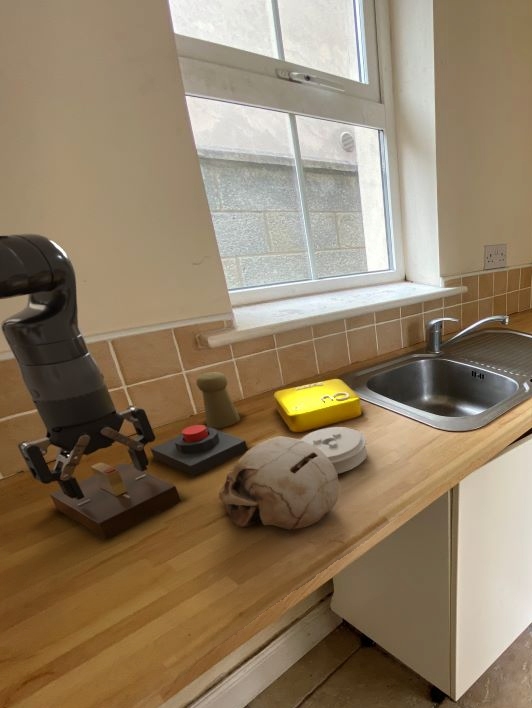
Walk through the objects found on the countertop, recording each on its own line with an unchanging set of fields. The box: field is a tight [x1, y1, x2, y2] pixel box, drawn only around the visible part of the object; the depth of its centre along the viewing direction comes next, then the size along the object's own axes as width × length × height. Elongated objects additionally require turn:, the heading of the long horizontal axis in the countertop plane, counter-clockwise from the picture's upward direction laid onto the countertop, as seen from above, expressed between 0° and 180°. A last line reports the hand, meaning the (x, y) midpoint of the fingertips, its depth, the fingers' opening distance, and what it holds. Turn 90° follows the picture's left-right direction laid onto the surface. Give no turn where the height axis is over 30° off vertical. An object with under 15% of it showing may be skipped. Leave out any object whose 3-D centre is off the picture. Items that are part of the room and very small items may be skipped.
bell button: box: [181, 424, 208, 442], centre depth 83 cm, size 4×4×2 cm
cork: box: [195, 371, 241, 429], centre depth 94 cm, size 6×6×11 cm
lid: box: [300, 426, 368, 475], centre depth 84 cm, size 13×13×5 cm
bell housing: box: [150, 425, 249, 477], centre depth 84 cm, size 12×10×4 cm
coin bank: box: [218, 435, 340, 531], centre depth 69 cm, size 16×17×13 cm
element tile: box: [273, 378, 362, 433], centre depth 101 cm, size 15×15×5 cm
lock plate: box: [49, 462, 181, 540], centre depth 71 cm, size 14×10×3 cm
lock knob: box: [90, 461, 127, 496], centre depth 69 cm, size 5×1×4 cm, turn 65°
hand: (111, 482), depth 69 cm, fingers open, 7 cm apart
